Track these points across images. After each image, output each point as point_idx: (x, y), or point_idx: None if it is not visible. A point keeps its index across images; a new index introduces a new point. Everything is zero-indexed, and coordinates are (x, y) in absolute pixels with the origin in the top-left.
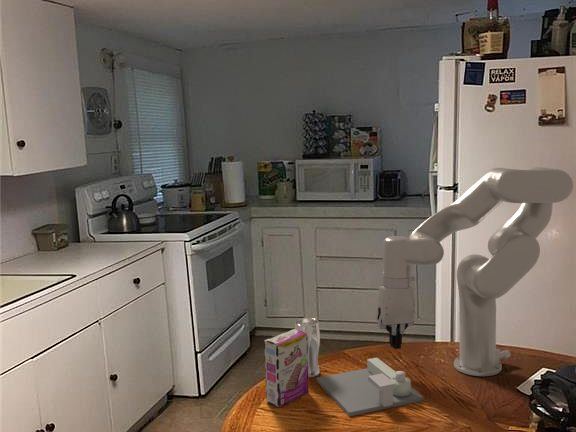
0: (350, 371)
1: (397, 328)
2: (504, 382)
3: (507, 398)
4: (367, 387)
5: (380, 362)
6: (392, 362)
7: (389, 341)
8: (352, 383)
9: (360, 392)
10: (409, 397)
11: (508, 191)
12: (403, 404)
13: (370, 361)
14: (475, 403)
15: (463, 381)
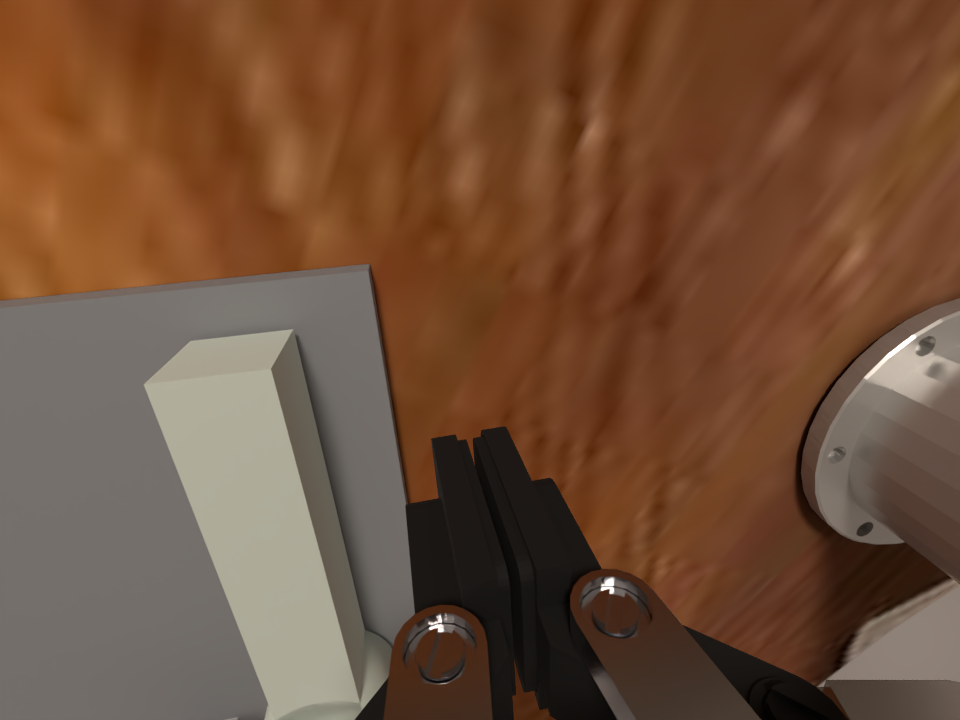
0: (11, 308)
1: (604, 688)
2: (868, 583)
3: None
4: (139, 584)
5: (273, 483)
6: (503, 157)
7: (407, 525)
8: (20, 519)
9: (76, 633)
10: None
11: None
12: None
13: (172, 441)
14: None
15: (731, 547)
